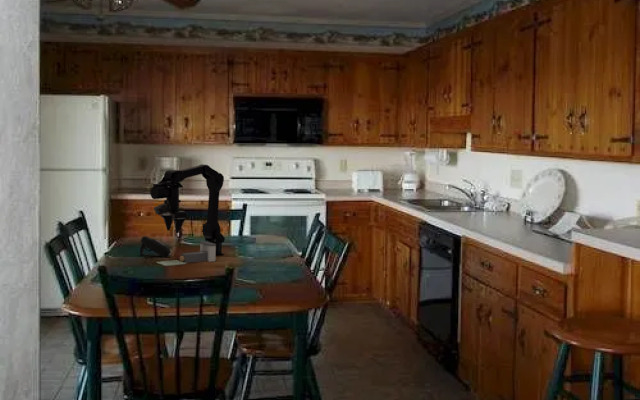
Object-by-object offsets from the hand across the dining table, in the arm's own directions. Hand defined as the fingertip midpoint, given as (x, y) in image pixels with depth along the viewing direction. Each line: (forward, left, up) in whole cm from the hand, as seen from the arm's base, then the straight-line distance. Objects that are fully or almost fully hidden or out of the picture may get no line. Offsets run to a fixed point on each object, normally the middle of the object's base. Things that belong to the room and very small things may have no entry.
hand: (172, 231), depth 322 cm
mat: (+4, +7, -13) cm, 16 cm away
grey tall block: (-9, +7, -14) cm, 18 cm away
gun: (+2, -13, -14) cm, 19 cm away
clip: (-14, +7, -13) cm, 21 cm away
